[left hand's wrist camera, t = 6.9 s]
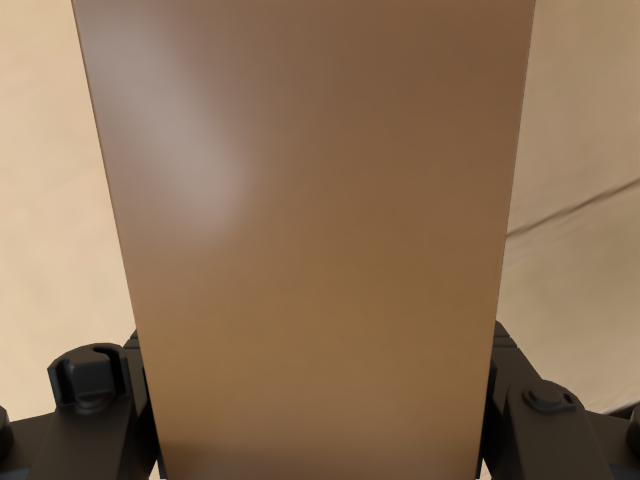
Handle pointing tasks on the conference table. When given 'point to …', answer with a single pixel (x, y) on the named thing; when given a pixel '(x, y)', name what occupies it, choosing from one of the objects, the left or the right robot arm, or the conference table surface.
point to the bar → (311, 223)
